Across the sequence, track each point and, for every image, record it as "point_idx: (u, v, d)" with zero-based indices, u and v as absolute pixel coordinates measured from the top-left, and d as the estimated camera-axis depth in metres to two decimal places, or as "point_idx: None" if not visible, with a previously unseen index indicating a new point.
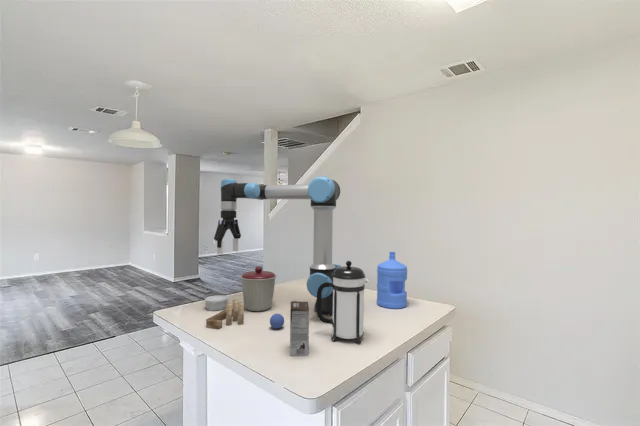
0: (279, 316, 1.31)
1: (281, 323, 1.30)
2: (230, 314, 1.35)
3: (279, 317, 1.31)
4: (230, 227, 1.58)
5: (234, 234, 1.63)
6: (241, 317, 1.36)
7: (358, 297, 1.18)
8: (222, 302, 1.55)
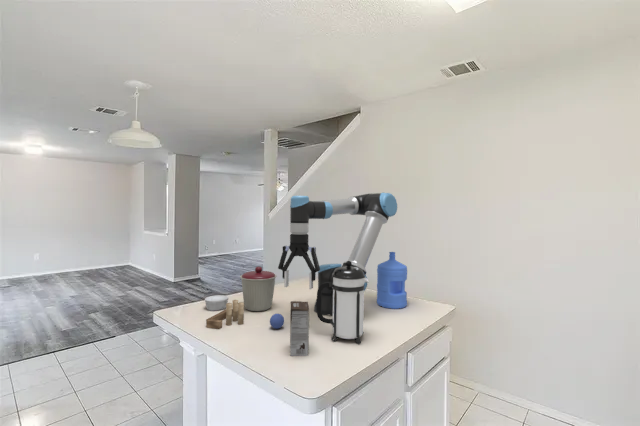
0: (279, 316, 1.31)
1: (281, 323, 1.30)
2: (230, 314, 1.35)
3: (279, 317, 1.31)
4: (298, 254, 1.29)
5: None
6: (241, 317, 1.36)
7: (358, 297, 1.18)
8: (222, 302, 1.55)
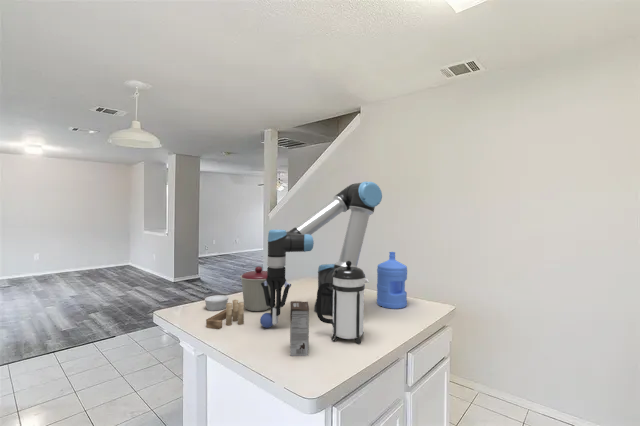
0: (262, 315, 1.33)
1: (268, 316, 1.32)
2: (230, 314, 1.35)
3: (263, 315, 1.32)
4: (275, 287, 1.31)
5: None
6: (241, 317, 1.36)
7: (358, 297, 1.18)
8: (222, 302, 1.55)
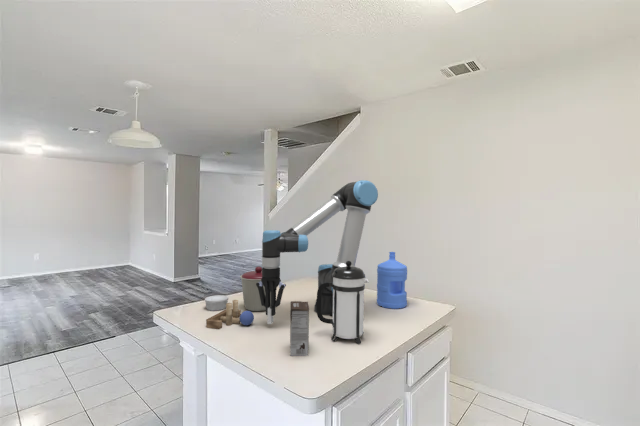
0: (249, 324, 1.34)
1: None
2: (230, 314, 1.35)
3: (248, 324, 1.34)
4: (270, 288, 1.32)
5: None
6: (232, 319, 1.37)
7: (358, 297, 1.18)
8: (222, 302, 1.55)
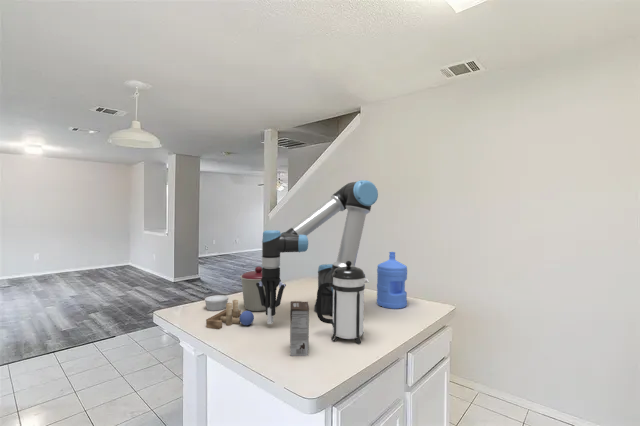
0: (249, 324, 1.34)
1: None
2: (230, 314, 1.35)
3: (248, 324, 1.34)
4: (270, 288, 1.32)
5: None
6: (232, 319, 1.37)
7: (358, 297, 1.18)
8: (222, 302, 1.55)
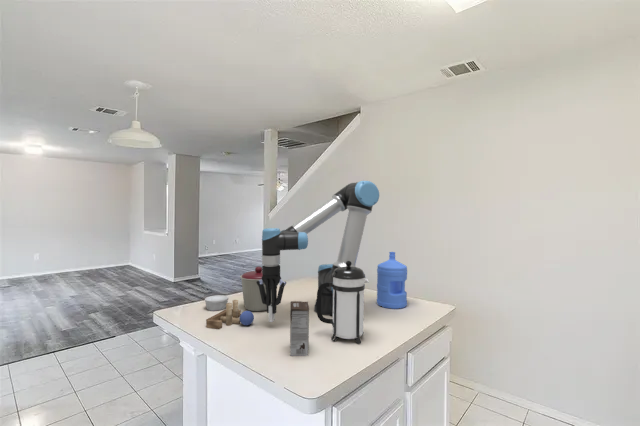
0: (249, 324, 1.34)
1: None
2: (230, 314, 1.35)
3: (248, 324, 1.34)
4: (270, 285, 1.32)
5: None
6: (232, 319, 1.37)
7: (358, 297, 1.18)
8: (222, 302, 1.55)
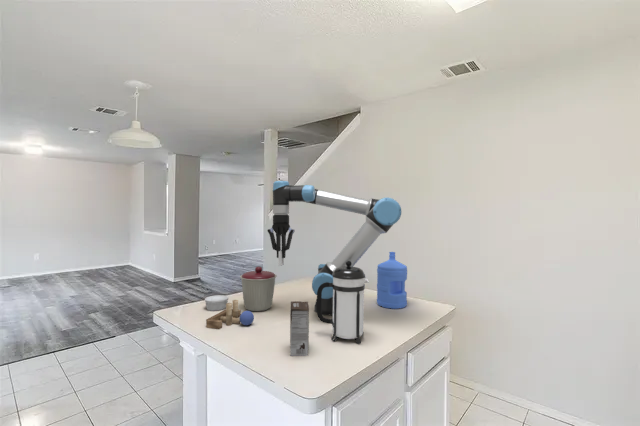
0: (249, 324, 1.34)
1: None
2: (230, 314, 1.35)
3: (248, 324, 1.34)
4: (280, 233, 1.46)
5: None
6: (232, 319, 1.37)
7: (358, 297, 1.18)
8: (222, 302, 1.55)
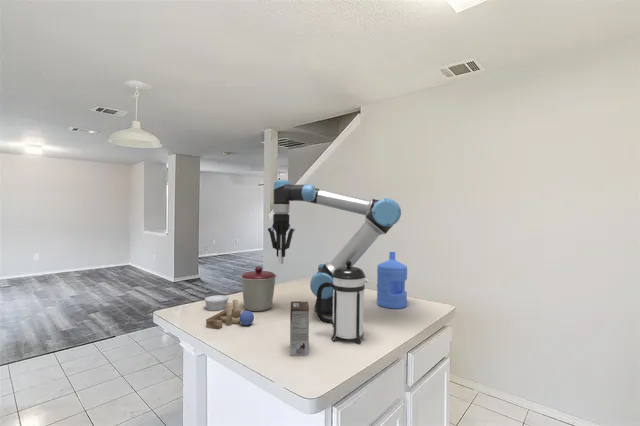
0: (249, 324, 1.34)
1: None
2: (230, 314, 1.35)
3: (248, 324, 1.34)
4: (280, 232, 1.47)
5: None
6: (232, 319, 1.37)
7: (358, 297, 1.18)
8: (222, 302, 1.55)
